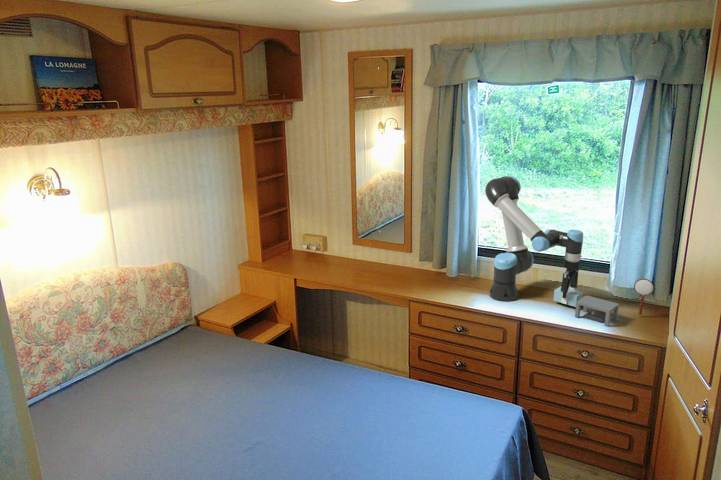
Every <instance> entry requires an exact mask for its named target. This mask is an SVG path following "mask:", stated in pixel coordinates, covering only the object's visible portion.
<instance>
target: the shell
mask: <svg viewBox="0 0 721 480" xmlns="http://www.w3.org/2000/svg"><path fill="white" fill-rule="evenodd" d="M561 286H562V285H561ZM561 286H559V287H557V288H556V289H554V291H553V292H554V294H553V301H554V302H557V303H561V301H562V293H563V292H561ZM583 294H584V293H583V292H582V291H579V290H577V289H575V290H572V289H569V288H568V299H567V304H566V305H567V306H571V307H575V308H576V302H577V301H578V300H580V299H581V298H583ZM561 304H562V303H561Z"/></svg>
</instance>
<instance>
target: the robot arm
mask: <svg viewBox="0 0 721 480" xmlns="http://www.w3.org/2000/svg"><path fill="white" fill-rule="evenodd" d="M521 187H522V186H521V182H520V181H519V180H518V179H517V178H516V177H514V176H512V175H505V176H501V177H497V178H493V179H490V180H489V181H488V182H487V183H486V186H485V190H484V192H485V196H486V198H487V200H488V202H490V204H491V205H492V206H493V207H494V208H498V209H499V210H500V211H501V215H502V219H503V225H504V231H505V236H506V240H507V241H506V242H507V248H506V250H505V251H506V252H500V253H499V254H497V255H495V257H494V262H493V283H492V284H491V287H490V290H489V297H490V298H491V299H493V300H496V301H501V302H513V301H516V300H517V299H518V298H519V293H518V289H517V288H518V287H517V285H516V280H517V279H516V277H517V275H520V274H522V273H525V272H527V271H529V269H531V268H532V267H533V265H534V262H535V260H534V255H533V253H532V252H531V251H530V250H529V249H528V246H527V245H525V243H524V242H525V241H524V237H523V234H524V235H525V236H526V237H527V239H529V241H530V242H531V247H532V249H533V250H534V251H535V252H537V253H540V252H544V251H547V250H549V249H551V248H553V247H556V246H557V247H562V248H565V252H564V261H563V262H564V263H563V266H564V268H565V273H563V274H562V280H561V292H563V293H562V301H561V304H564V305H567V299H568V289H572V290H576V289H577V288H578V281H579V280H578V279H579V271H580V266H581V259H582V257H583V256H582V248H583V243H584V232H583V231H581V230H579V229H569V230H568V231H567V232H565V231H560V230H557V229H549V228H547V229H546V230H545V231H543V230H542V229H541V228H540V227H539V226H538V225H537V224H536V223H535V222H534V221H533V220H532V219H531V218H530V217H529V216H528V215H527V214H526V213H525V212H524V211H523V210H522V209H521V208H520V207H519V206H518V204H517V203H518V201H519V199H520V197H519V194H520V192H521Z"/></svg>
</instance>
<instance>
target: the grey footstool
mask: <svg viewBox="0 0 721 480" xmlns="http://www.w3.org/2000/svg"><path fill="white" fill-rule="evenodd" d="M619 305H620V303H617V302H614V301H610V300H607V299H606V300H605V299H602V298H598V297H595V296H591V295H585V296H582V298H581V299H580V300H578V301H577V302H576V307H575V313H574V318H576V319H579V318H580V316H581V315H580V314H581V308H582V307H583V311H582V312H584V315H583V318H584V319H586V320H590V321H593V322H597V323H600V324H604V327H606V328H608V327H610V324H611V323H610V322H611V321H610V319H611V313H612V320H613V321H617V320H618V317H619V316H618V314H619V307H620V306H619ZM581 306H582V307H581ZM589 309H593V310H597V311H600V312H603V313H605V318H604V319H603V318H601V317H598V316H594V315H591V314H592V311H591V310H589ZM585 312H586V313H585Z"/></svg>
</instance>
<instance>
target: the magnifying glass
mask: <svg viewBox="0 0 721 480" xmlns="http://www.w3.org/2000/svg"><path fill="white" fill-rule="evenodd" d="M633 288H634V291H635V293H637V294H638V295H640V302H639V303H640V304H639V310H638V311H639V312H638V317H642V313H643V307H644V300H645V299H644V298H645V296H646V297H647V296H649V295H652V294H653V292H654V290H655V285H654V282H652V281H651V280H650V279H648V278H639V279H638V280H636V281H635V283H634V285H633Z"/></svg>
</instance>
